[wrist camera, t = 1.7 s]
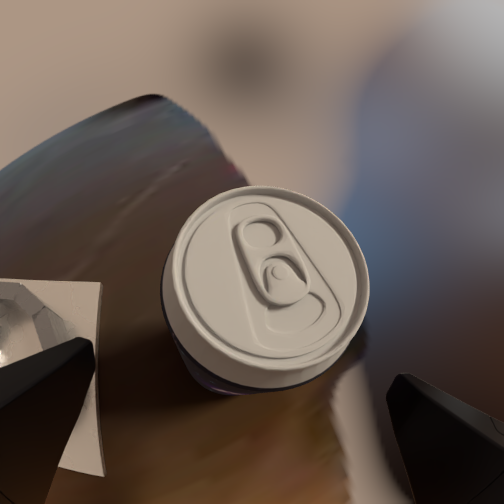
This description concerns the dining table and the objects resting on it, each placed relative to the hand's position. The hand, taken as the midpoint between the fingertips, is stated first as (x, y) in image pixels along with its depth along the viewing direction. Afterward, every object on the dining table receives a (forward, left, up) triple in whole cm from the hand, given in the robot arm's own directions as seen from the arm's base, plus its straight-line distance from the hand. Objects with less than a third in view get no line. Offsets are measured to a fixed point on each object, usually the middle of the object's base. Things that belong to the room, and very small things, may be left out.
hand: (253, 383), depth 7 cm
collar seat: (0, +14, -10) cm, 18 cm away
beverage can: (+3, -1, -10) cm, 11 cm away
